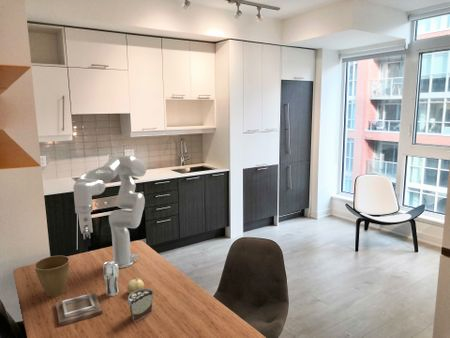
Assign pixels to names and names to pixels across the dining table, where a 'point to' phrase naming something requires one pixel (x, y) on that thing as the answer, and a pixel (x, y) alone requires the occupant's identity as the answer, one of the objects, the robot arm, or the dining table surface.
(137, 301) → the food container
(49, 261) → the plant pot
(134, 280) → the onion
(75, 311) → the holder board
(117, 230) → the robot arm
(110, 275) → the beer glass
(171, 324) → the dining table surface
